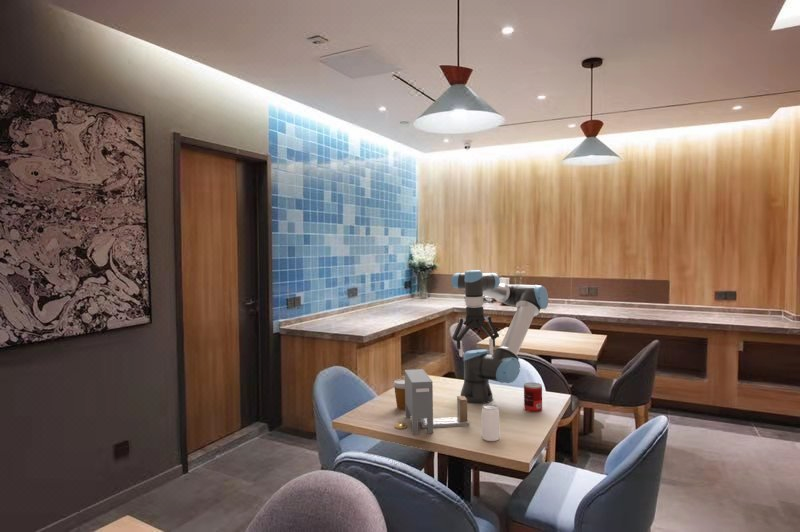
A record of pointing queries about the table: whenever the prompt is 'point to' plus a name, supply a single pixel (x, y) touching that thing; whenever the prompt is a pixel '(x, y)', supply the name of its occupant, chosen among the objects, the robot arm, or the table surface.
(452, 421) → the steel scraper
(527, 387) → the canned food
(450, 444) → the table surface
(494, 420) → the can
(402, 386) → the disposable coffee cup
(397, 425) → the brass token
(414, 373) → the gray cabinet
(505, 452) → the table surface
